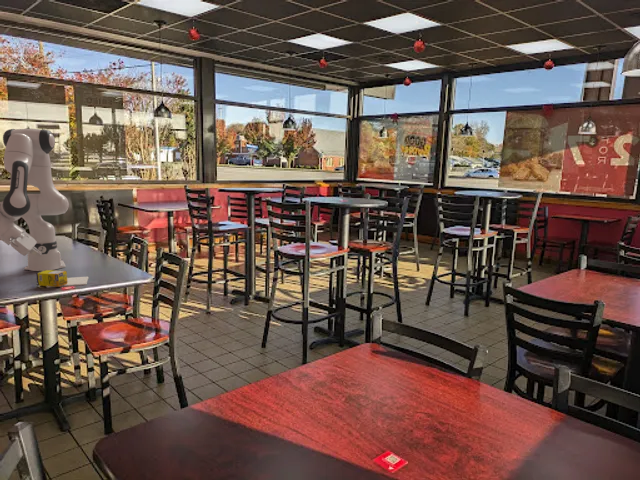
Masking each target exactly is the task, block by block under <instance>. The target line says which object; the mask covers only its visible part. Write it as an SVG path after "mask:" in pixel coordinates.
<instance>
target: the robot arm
mask: <svg viewBox="0 0 640 480" xmlns="http://www.w3.org/2000/svg"><path fill="white" fill-rule="evenodd" d="M2 142H3V144H4V147H5V149H4V154H3V155H4V157H3V166H4V169H5V170H6V172H8V173H10V183H9V184H10V185H9V191H8V193H7V194H6V196H5V197H3V200H2V201H0V240H1V241H2V242H3V243H5V245H7V246H11V247H12V248H13V249H14V250H15V251H17V252H18V253H19V254H20V255H22V256H24V257H26V256H27V266H25V267H24V270H27V271H28V270H29V271H31V272H41V271H44V270H54V271H56V270H58V269H64V268H66V263H65V262H64V260H63V258H62V256H61V252H60V251H59V249H58V243H57V240H56V230H55V226H54V225H53V224H52V223H50V222H48V221H46V220H44V219H43V218H42V216H58V215H62V214H63V215H64V214H66V212H67V211H68V210H69V207H70V202H69V199H68V198H67V196H65V195H64V194H62V193H61V192H59V191H60V190H58V189H57V188H56V186H55V184H54V182H53V175H52V165H51V158H50V152H52V151H53V150H54V148H55V146H56V139H55V135H54V133H53V132H51V131H50V130H49V129H43V128H42V129H39V128H18V129H17V128H11V129H7V130H5V132H4V133H3V135H2ZM28 184H29V185H30V186H33V187H35V188H37V189H38V190H39V192H40V193H28ZM21 218H22V219H23V220H24V222H25V223H26V225H27V226H28V229H29V233H28V232H26V230H25V228H24V227H22V226H19V225H17V224H16V223H15V222H16V221H18V220H20V219H21Z"/></svg>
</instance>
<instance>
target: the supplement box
mask: <svg viewBox="0 0 640 480" xmlns="http://www.w3.org/2000/svg"><path fill="white" fill-rule="evenodd" d="M35 276H36V283H37V284H36V285H37V286H40V287H42V286H43V287H47V286H56V287H55V288H60V287H59V286H62V285H65V284H67V283H68V282H67V278H68V273H67V271H66V270H44V271H37V272H36V274H35Z"/></svg>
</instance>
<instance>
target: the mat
mask: <svg viewBox="0 0 640 480" xmlns="http://www.w3.org/2000/svg"><path fill="white" fill-rule="evenodd" d="M88 281H89V276H77V277H67V282H68V283H67V284H65V285H62V286H59V287H58V288H62V287H73V286H75V287H77V286H87V284H88ZM46 288H57V287H56V286H46Z"/></svg>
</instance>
